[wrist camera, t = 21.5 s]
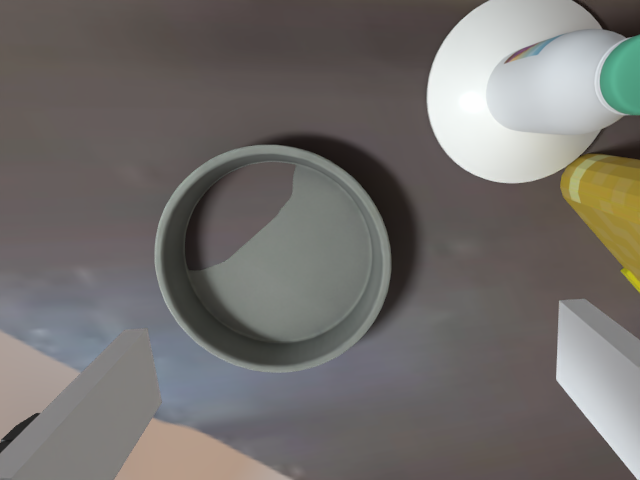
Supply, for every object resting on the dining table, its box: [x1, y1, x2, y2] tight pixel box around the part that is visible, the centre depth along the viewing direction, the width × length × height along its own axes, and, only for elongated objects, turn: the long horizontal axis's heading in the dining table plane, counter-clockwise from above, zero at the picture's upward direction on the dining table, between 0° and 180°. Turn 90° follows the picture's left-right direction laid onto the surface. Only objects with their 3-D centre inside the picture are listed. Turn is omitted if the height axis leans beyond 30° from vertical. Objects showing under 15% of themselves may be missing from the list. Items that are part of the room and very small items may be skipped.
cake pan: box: [155, 145, 391, 373], centre depth 51 cm, size 25×25×4 cm
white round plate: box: [426, 0, 603, 183], centre depth 47 cm, size 18×18×1 cm
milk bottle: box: [486, 29, 640, 135], centre depth 37 cm, size 8×8×20 cm
